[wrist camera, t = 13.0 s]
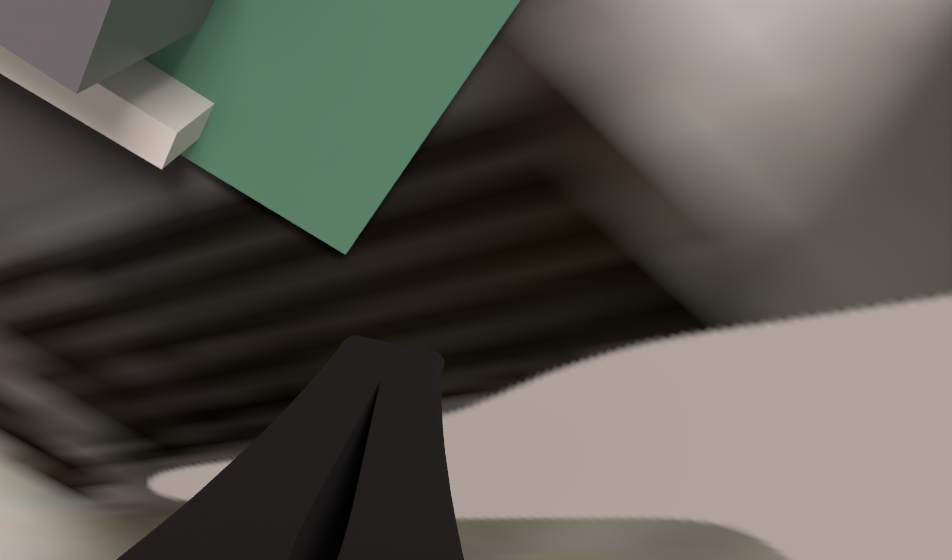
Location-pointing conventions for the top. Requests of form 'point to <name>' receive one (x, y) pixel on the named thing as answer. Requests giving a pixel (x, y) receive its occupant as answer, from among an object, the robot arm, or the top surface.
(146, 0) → the plug block
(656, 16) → the top surface
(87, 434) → the top surface
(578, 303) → the top surface
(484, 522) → the top surface
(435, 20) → the board
